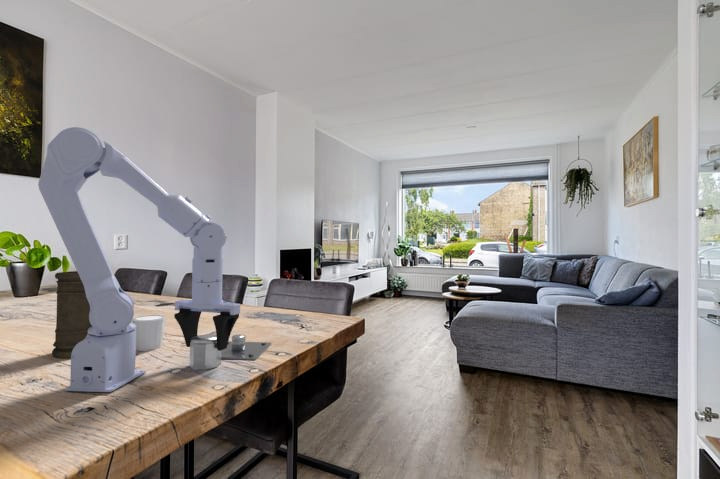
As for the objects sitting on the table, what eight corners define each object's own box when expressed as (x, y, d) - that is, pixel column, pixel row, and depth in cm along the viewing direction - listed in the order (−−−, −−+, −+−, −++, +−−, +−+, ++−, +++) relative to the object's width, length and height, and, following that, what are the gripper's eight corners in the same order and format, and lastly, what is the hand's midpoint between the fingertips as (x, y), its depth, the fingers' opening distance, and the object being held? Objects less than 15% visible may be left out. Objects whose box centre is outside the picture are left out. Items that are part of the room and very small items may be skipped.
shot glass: (125, 348, 83) (125, 318, 83) (153, 341, 89) (154, 313, 89) (142, 353, 80) (143, 322, 80) (171, 345, 86) (172, 316, 86)
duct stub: (255, 359, 76) (255, 344, 76) (200, 358, 77) (201, 342, 77) (271, 344, 88) (271, 330, 88) (223, 342, 89) (224, 329, 89)
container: (74, 360, 75) (76, 274, 75) (40, 356, 76) (42, 272, 77) (112, 347, 83) (114, 271, 84) (80, 345, 85) (82, 269, 85)
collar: (212, 370, 70) (213, 341, 70) (185, 369, 70) (185, 341, 70) (225, 360, 76) (226, 334, 76) (199, 359, 76) (200, 333, 76)
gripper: (249, 280, 75) (248, 345, 75) (192, 277, 79) (192, 339, 79) (227, 284, 68) (226, 355, 68) (167, 280, 72) (166, 348, 72)
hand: (206, 347), depth 73 cm, fingers open, 7 cm apart
